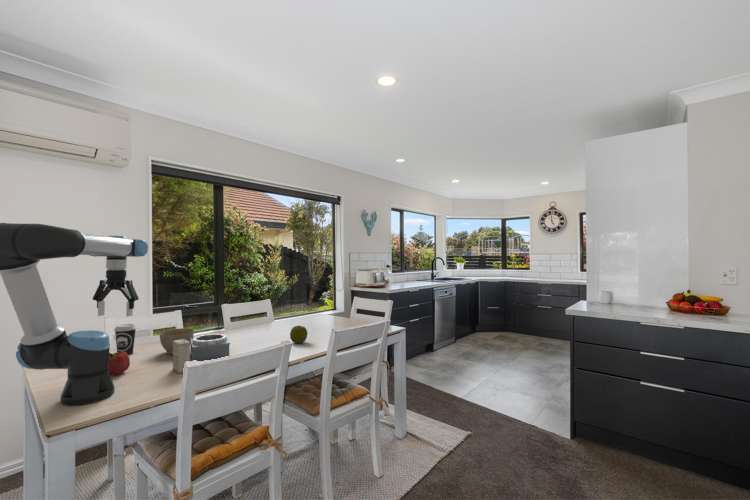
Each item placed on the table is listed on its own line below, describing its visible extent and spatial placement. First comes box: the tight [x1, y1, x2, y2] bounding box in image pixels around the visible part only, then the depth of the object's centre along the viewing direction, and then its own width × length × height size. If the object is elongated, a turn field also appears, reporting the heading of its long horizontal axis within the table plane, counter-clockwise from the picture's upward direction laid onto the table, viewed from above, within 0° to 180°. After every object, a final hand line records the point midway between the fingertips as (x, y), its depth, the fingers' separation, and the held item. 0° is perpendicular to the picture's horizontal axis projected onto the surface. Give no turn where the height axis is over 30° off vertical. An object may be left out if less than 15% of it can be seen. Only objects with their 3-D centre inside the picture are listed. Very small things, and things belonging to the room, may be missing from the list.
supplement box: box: [172, 339, 191, 374], centre depth 155 cm, size 8×5×13 cm, turn 47°
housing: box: [190, 333, 231, 361], centre depth 176 cm, size 21×17×10 cm
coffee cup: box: [113, 323, 137, 356], centre depth 179 cm, size 10×10×15 cm
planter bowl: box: [158, 327, 195, 355], centre depth 184 cm, size 16×16×11 cm
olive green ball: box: [289, 325, 308, 344], centre depth 204 cm, size 10×10×11 cm
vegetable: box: [109, 351, 131, 376], centre depth 150 cm, size 11×10×10 cm
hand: (115, 315), depth 159 cm, fingers open, 13 cm apart
